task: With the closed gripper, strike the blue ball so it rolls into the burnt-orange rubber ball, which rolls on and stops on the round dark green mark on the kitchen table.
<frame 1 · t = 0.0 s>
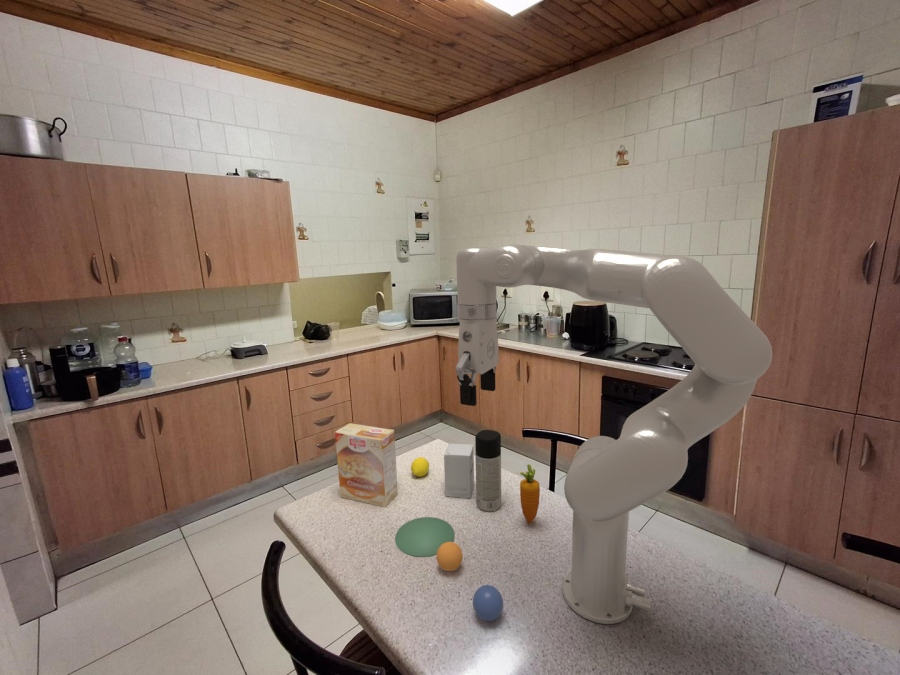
hand: (478, 397, 82), 37 cm above the table, tool pointing down, fingers open, 9 cm apart
carrot: (529, 524, 100), on the table
spray can: (488, 505, 108), on the table
coffeecake box: (369, 496, 115), on the table
supplement box: (460, 491, 116), on the table
blue ball: (487, 602, 74), on the table
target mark: (425, 535, 97), on the table
object ball: (449, 556, 86), on the table
lemon: (420, 475, 125), on the table
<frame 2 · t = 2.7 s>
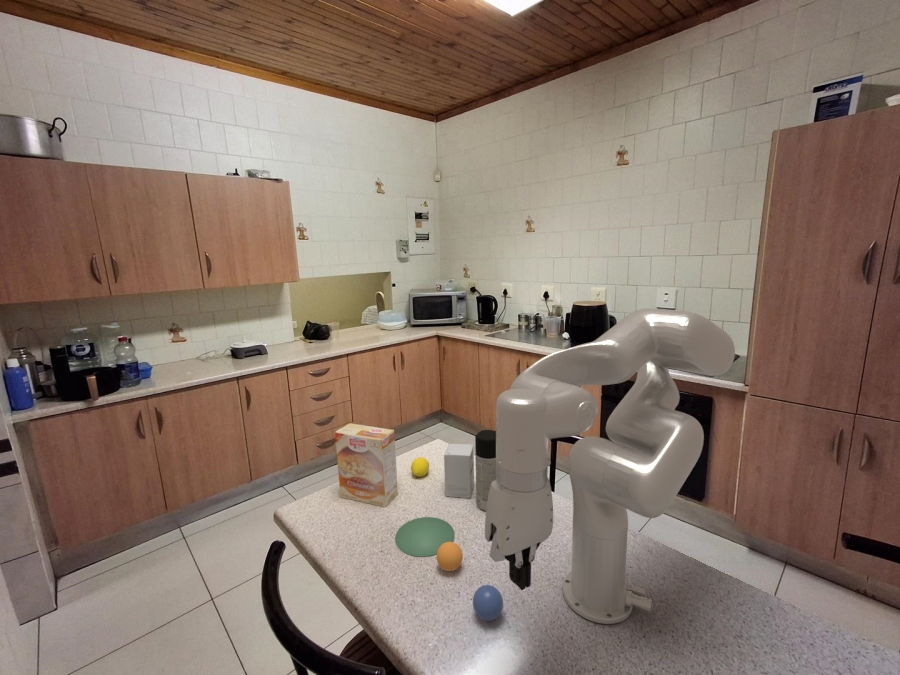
hand: (519, 582, 64), 14 cm above the table, tool pointing down, fingers closed
nothing on the table moved.
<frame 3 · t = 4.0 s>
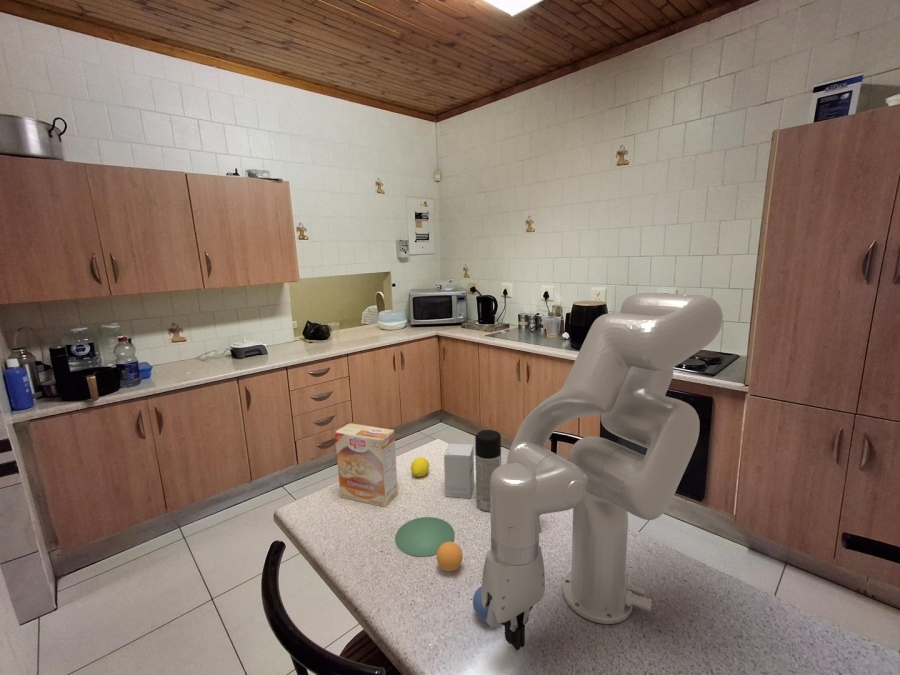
hand: (514, 641, 68), 2 cm above the table, tool pointing down, fingers closed
nothing on the table moved.
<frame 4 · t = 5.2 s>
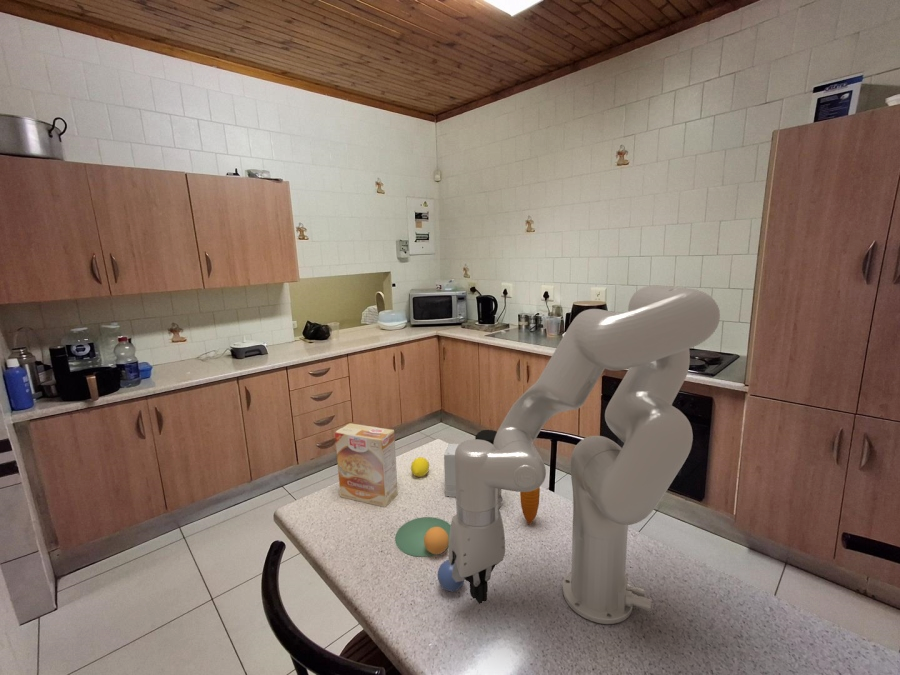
hand: (478, 597, 77), 2 cm above the table, tool pointing down, fingers closed
blue ball: (451, 575, 81), on the table
object ball: (436, 540, 91), on the table
everything else where it was.
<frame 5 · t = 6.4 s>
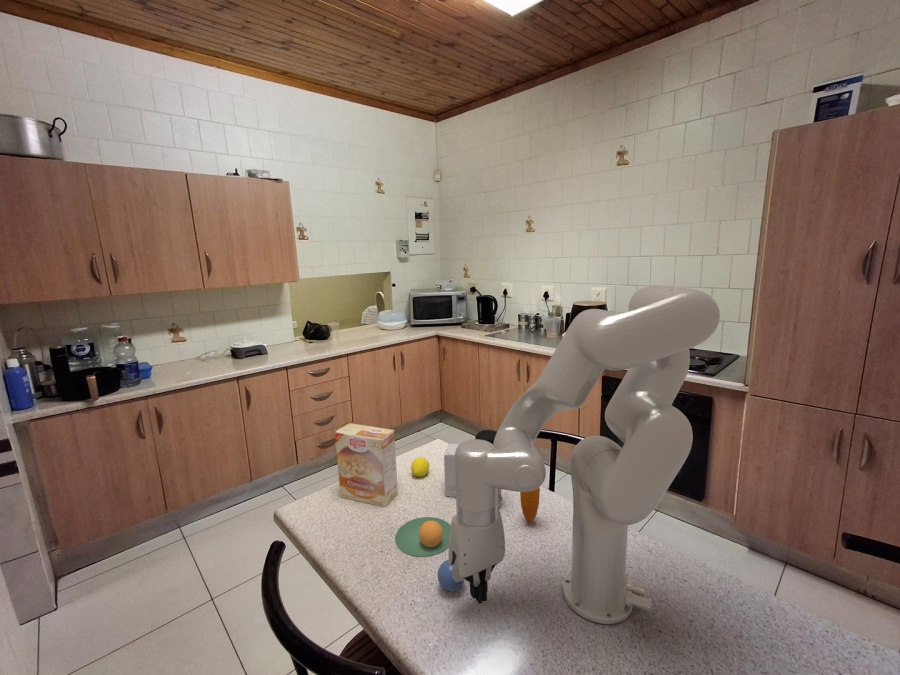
hand: (478, 597, 77), 2 cm above the table, tool pointing down, fingers closed
object ball: (430, 533, 93), on the table
everything else where it was.
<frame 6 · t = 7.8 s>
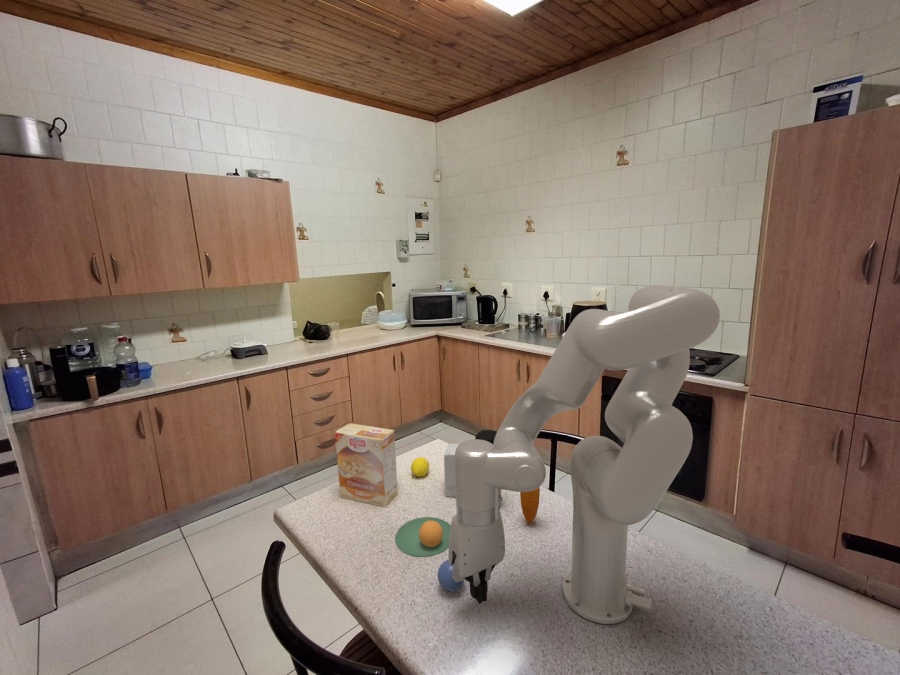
hand: (478, 597, 77), 2 cm above the table, tool pointing down, fingers closed
nothing on the table moved.
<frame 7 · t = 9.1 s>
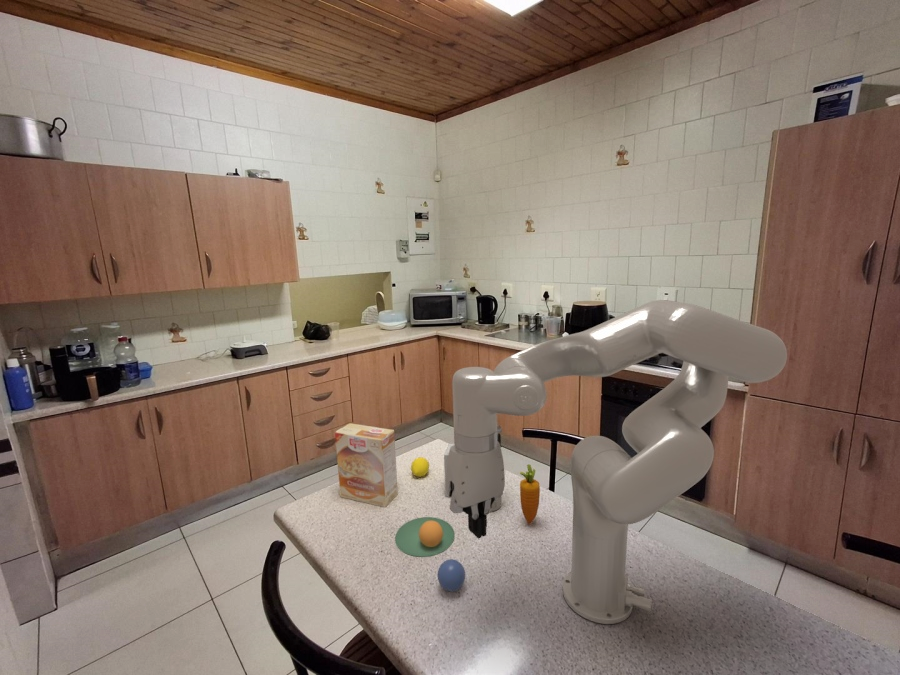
hand: (477, 532, 74), 15 cm above the table, tool pointing down, fingers closed
nothing on the table moved.
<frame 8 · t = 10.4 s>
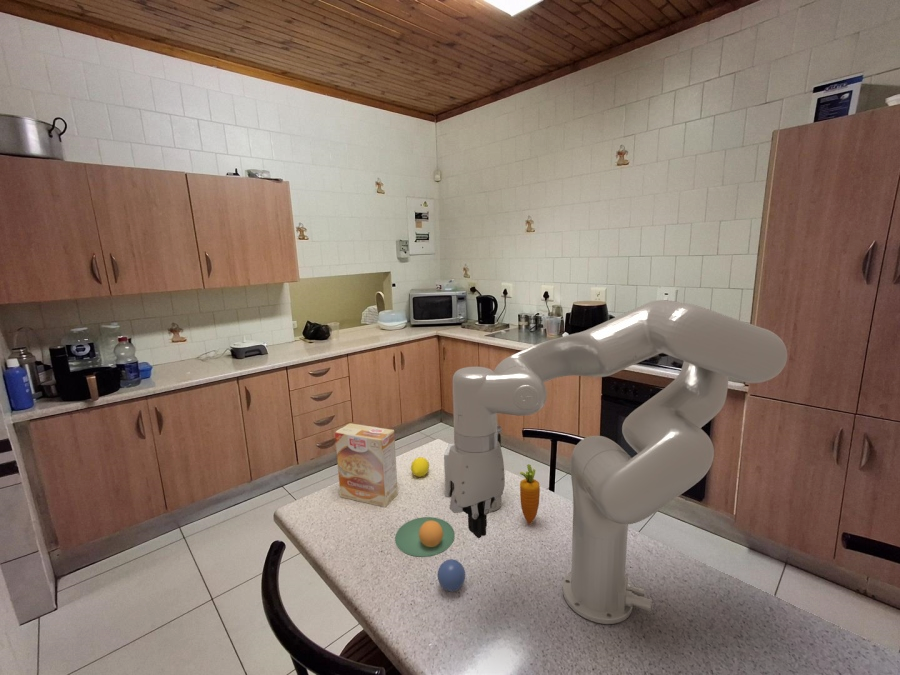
hand: (477, 532, 74), 15 cm above the table, tool pointing down, fingers closed
nothing on the table moved.
at the end: object ball 3.4 cm from the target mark (horizontally); object ball never touched the robot; blue ball first touched object ball at 4.5 s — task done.
